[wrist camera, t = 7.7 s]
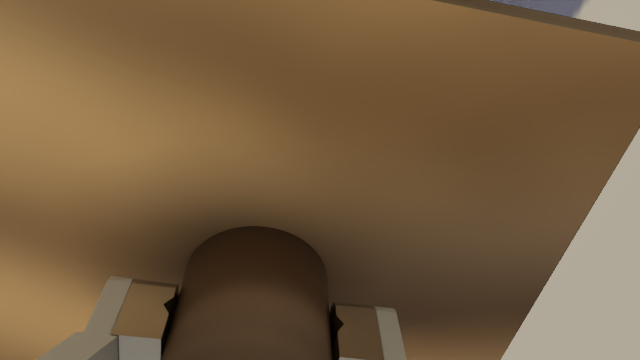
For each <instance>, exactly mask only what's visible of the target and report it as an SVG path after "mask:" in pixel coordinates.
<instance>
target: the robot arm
mask: <svg viewBox="0 0 640 360" xmlns="http://www.w3.org/2000/svg"><path fill="white" fill-rule="evenodd" d="M178 296H179V286H178V285H177V284H170V283H163V282H155V281H148V280H141V279H131V278H124V277H116V276H111V277H110V278H109V279H108V280H107V282H106V284H105V286H104V288H103V291H102V293H101V295H100V297H99V299H98V301H97V304H96V306H95V308H94V310H93V312H92V314H91V317H90V319H89V321H88V323H87V325H86V327H85V330H84V332H83V333H82V332H75V333H74V334H73V335H71V336H70V337H68V338H67V339H65V340H64V341H62V342H61V343H59V344H58V345H57V346H55V347H54V348H52V349H51V350H49V351H48V352H46V353H45V354H44V355H42V356H41V357H39V358H38V359H36V360H161V357H162V354H163V350H164V347H165V343H166V339H167V336H168V332H169V328H170V324H171V321H172V318H173V314H174V311H175V307H176V304H177V300H178ZM329 314H330V329H331V345H332V360H407V358H406V354H405V349H404V344H403V340H402V335H401V331H400V326H399V322H398V317H397V312H396V311H395V309H394V308H385V307H376V306H374V307H373V306H367V305H357V304H348V303H338V302H333V304H332V305H331V308H330V312H329Z"/></svg>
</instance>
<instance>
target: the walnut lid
mask: <svg viewBox="0 0 640 360" xmlns="http://www.w3.org/2000/svg"><path fill="white" fill-rule="evenodd" d="M639 128H640V32H639V31H635V30H630V29H625V28H620V27H615V26H610V25H605V24H601V23H596V22H591V21H586V20H581V19H576V18H571V17H566V16H562V15H557V14H552V13H547V12H542V11H537V10H532V9H527V8H522V7H518V6H513V5H508V4H503V3H498V2H493V1H488V0H0V360H36V359H38V358H39V357H41V356H42V355H44V354H45V353H46V352H48V351H49V350H51V349H52V348H54V347H55V346H57V345H58V344H59V343H61V342H62V341H64V340H65V339H67V338H68V337H70V336H71V335H73V334H74V333H75V332H82V333H83V332H84V330H85V327H86V325H87V323H88V321H89V319H90V317H91V314H92V312H93V310H94V308H95V306H96V304H97V301H98V299H99V297H100V295H101V293H102V291H103V288H104V286H105V284H106V282H107V280H108V279H109V278H110V277H111V276H116V277H124V278H131V279H141V280H148V281H155V282H163V283H170V284H177V285H178V286H179V296H178V300H177V304H176V307H175V311H174V314H173V318H172V321H171V324H170V328H169V332H168V336H167V339H166V343H165V347H164V350H163V354H162V357H161V360H332V345H331V329H330V314H329V312H330V308H331V305H332V304H333V302H338V303H348V304H357V305H367V306H373V307H374V306H376V307H385V308H394V309H395V311H396V312H397V317H398V322H399V326H400V331H401V335H402V340H403V344H404V349H405V354H406V358H407V360H500V359H501V358H502V356H503V355H504V353H505V351H506V350H507V348H508V346H509V344H510V343H511V341H512V339H513V338H514V336H515V334H516V333H517V331H518V329H519V328H520V326H521V325H522V323H523V321H524V320H525V318H526V316H527V314H528V313H529V311H530V310H531V308H532V306H533V305H534V303H535V301H536V300H537V298H538V296H539V295H540V293H541V291H542V290H543V287H544V286H545V285H546V283H547V281H548V280H549V278H550V276H551V274H552V273H553V271H554V270H555V268H556V266H557V265H558V263H559V261H560V260H561V258H562V256H563V255H564V253H565V251H566V250H567V248H568V246H569V245H570V243H571V241H572V240H573V238H574V236H575V235H576V233H577V231H578V230H579V228H580V226H581V225H582V223H583V221H584V220H585V218H586V216H587V215H588V213H589V211H590V210H591V208H592V206H593V205H594V203H595V201H596V200H597V198H598V196H599V195H600V193H601V191H602V190H603V188H604V186H605V185H606V183H607V181H608V180H609V178H610V176H611V175H612V173H613V171H614V170H615V168H616V166H617V165H618V163H619V161H620V160H621V158H622V156H623V155H624V153H625V151H626V150H627V148H628V146H629V144H630V143H631V141H632V140H633V138H634V136H635V135H636V133H637V131H638V130H639Z"/></svg>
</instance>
